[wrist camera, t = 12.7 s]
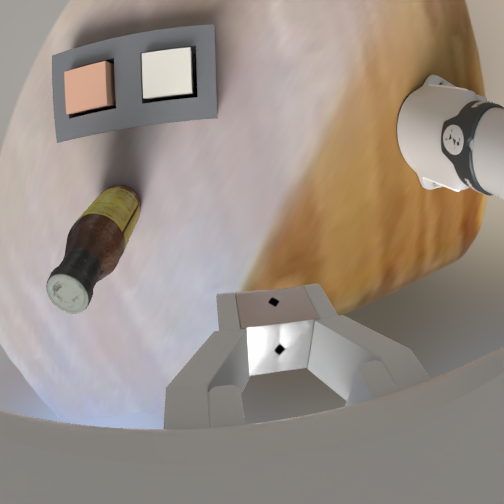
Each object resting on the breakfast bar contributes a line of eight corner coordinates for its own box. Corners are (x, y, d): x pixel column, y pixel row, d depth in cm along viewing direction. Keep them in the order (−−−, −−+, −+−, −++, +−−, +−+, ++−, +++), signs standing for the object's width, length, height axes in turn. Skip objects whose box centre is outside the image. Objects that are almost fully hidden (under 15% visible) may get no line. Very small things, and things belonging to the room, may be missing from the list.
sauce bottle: (94, 189, 36) (19, 260, 18) (136, 178, 36) (79, 246, 19) (108, 233, 39) (52, 325, 21) (148, 224, 39) (110, 318, 22)
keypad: (213, 34, 29) (214, 24, 25) (216, 116, 34) (217, 118, 30) (69, 59, 27) (52, 55, 23) (73, 137, 32) (57, 142, 28)
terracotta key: (116, 65, 27) (105, 60, 23) (117, 104, 29) (107, 104, 26) (78, 74, 26) (64, 71, 23) (80, 112, 29) (66, 114, 25)
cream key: (192, 53, 28) (190, 47, 24) (193, 94, 30) (191, 92, 27) (149, 59, 27) (141, 53, 24) (150, 99, 30) (143, 98, 26)
